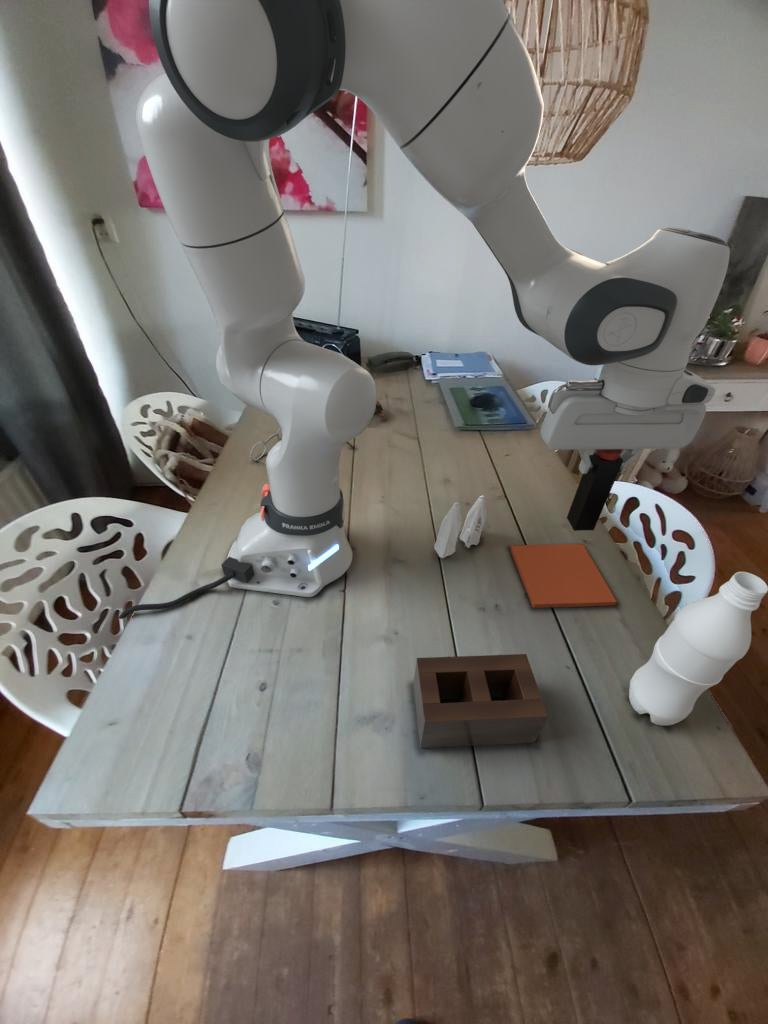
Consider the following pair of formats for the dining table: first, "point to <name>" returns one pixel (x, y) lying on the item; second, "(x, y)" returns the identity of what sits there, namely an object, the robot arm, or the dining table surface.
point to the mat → (561, 576)
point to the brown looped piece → (379, 410)
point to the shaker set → (452, 527)
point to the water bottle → (697, 650)
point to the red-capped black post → (594, 489)
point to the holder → (477, 701)
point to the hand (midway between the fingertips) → (600, 471)
